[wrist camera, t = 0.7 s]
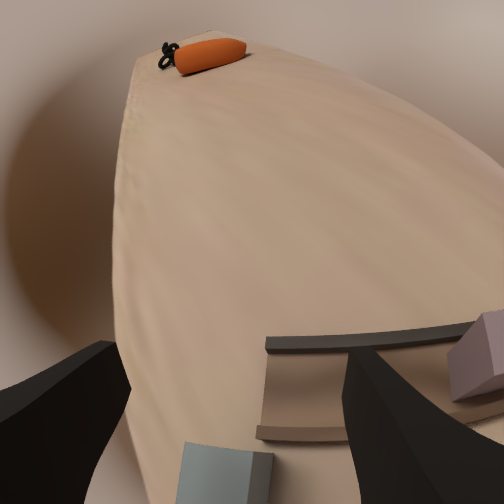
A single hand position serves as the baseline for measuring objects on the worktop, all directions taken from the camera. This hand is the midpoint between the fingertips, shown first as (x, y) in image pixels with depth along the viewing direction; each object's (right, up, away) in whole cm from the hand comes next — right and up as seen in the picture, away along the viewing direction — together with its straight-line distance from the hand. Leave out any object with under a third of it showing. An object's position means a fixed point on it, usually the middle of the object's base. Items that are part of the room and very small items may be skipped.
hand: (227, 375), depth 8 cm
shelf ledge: (+13, -7, +11) cm, 18 cm away
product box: (0, -14, +8) cm, 16 cm away
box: (+19, -6, +8) cm, 22 cm away
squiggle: (-33, +83, +99) cm, 133 cm away
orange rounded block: (-12, +67, +80) cm, 105 cm away
